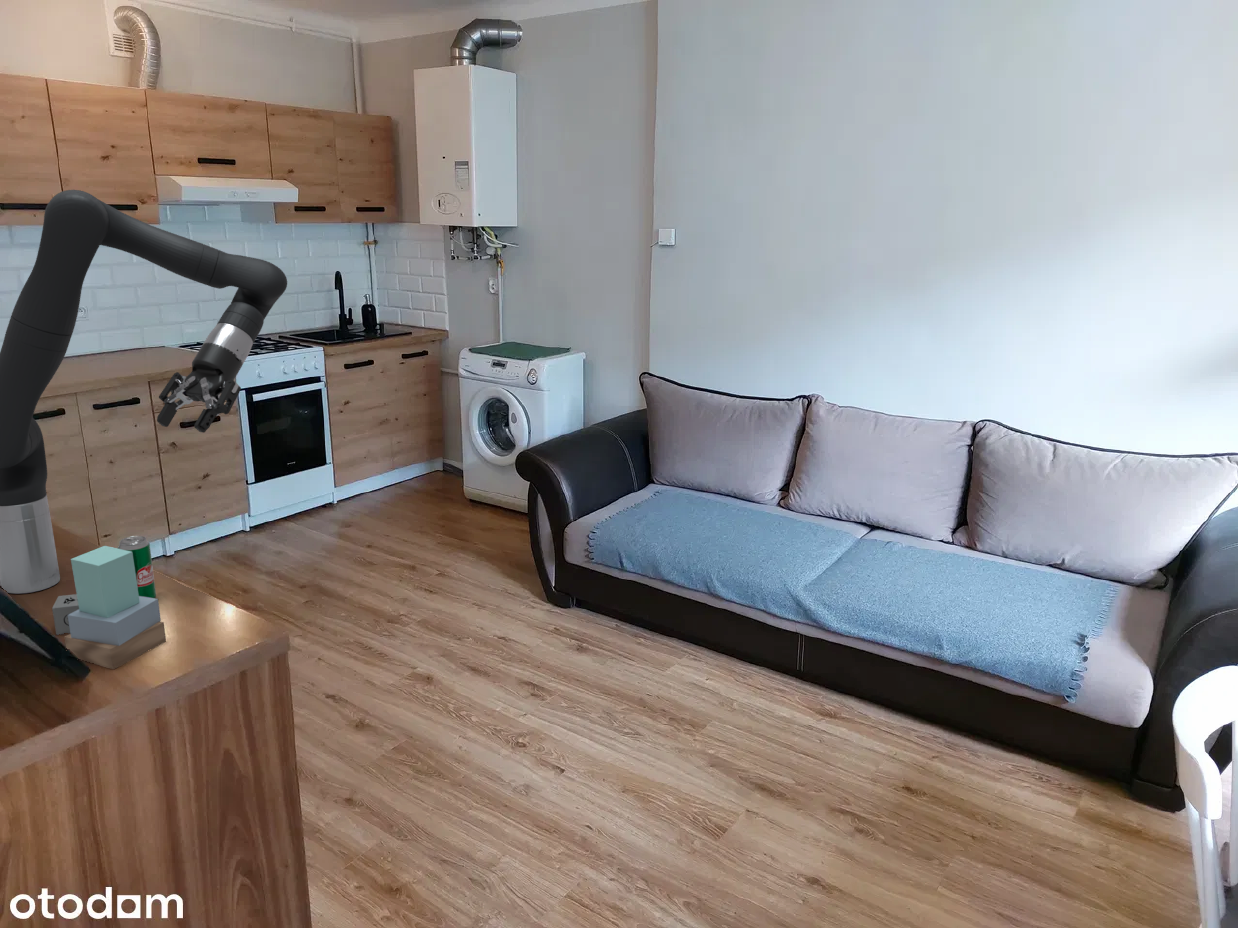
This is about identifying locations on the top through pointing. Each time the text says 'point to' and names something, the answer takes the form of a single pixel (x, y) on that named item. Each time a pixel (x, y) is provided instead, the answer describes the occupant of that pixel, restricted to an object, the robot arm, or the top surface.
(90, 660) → the walnut block
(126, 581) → the teal square block
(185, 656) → the top surface
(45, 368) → the robot arm
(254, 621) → the top surface
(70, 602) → the dice cube
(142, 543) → the soda can
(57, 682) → the top surface
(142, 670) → the top surface
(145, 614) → the slate block
